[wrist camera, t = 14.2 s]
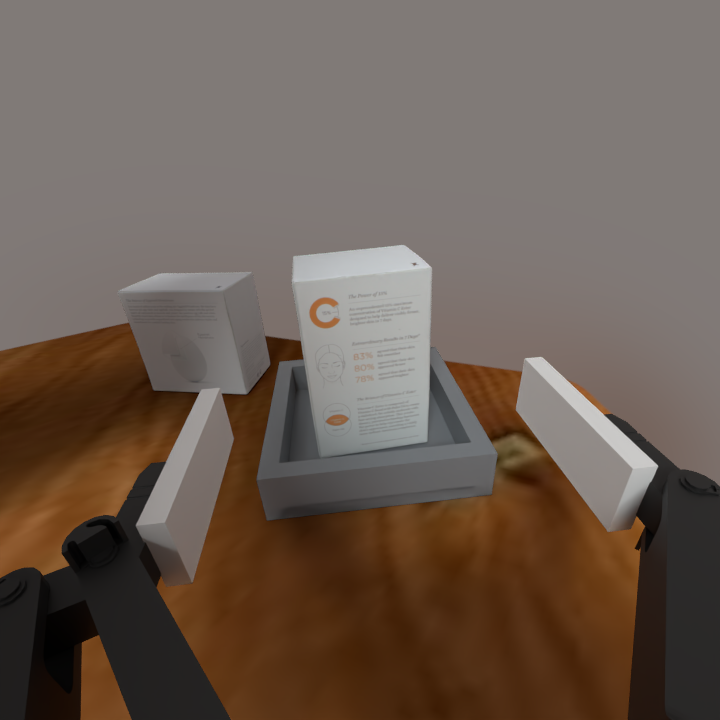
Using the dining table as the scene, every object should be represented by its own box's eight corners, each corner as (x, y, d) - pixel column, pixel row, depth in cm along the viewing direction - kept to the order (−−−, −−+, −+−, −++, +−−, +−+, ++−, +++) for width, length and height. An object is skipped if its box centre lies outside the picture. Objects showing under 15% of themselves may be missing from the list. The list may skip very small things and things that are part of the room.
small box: (406, 396, 33) (406, 242, 27) (429, 444, 28) (435, 265, 22) (313, 409, 33) (291, 253, 26) (317, 461, 27) (290, 280, 21)
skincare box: (272, 363, 42) (254, 268, 37) (248, 396, 37) (222, 290, 32) (187, 360, 44) (158, 270, 39) (151, 391, 39) (112, 291, 34)
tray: (267, 520, 24) (256, 480, 23) (285, 393, 37) (279, 361, 35) (491, 494, 25) (497, 453, 23) (434, 379, 38) (435, 346, 36)
